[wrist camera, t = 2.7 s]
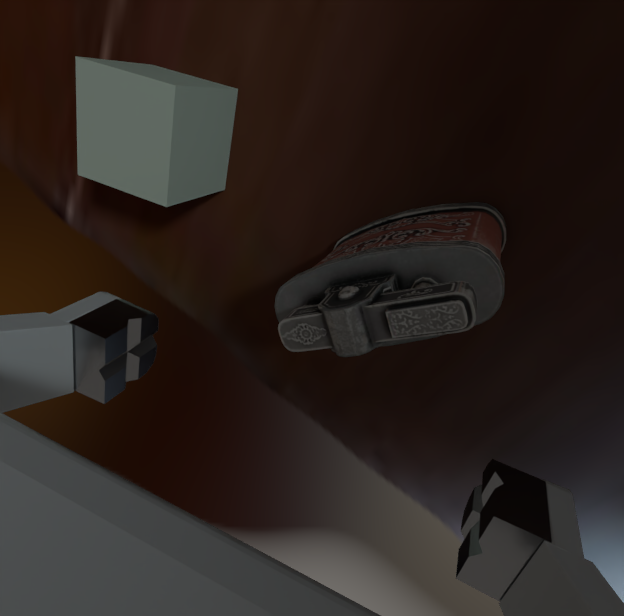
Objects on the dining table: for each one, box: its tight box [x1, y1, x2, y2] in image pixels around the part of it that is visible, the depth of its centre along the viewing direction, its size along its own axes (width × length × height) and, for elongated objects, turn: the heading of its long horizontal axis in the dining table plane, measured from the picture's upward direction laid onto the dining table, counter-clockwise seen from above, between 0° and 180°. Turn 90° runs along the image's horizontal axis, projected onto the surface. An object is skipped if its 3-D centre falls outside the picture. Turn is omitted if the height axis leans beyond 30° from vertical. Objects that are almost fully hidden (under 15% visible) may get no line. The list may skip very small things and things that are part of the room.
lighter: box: [275, 202, 506, 357], centre depth 18 cm, size 8×3×10 cm, turn 109°
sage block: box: [76, 56, 238, 207], centre depth 22 cm, size 5×5×5 cm
